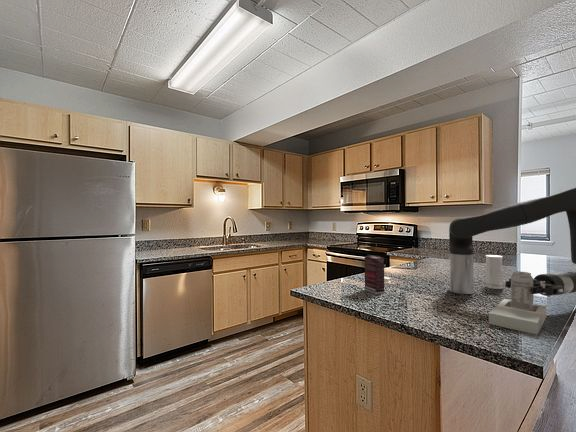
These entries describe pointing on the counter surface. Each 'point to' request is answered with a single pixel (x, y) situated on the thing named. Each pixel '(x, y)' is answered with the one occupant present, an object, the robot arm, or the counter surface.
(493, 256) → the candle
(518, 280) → the energy drink can
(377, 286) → the supplement box
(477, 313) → the counter surface
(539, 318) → the socket block
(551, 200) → the robot arm
